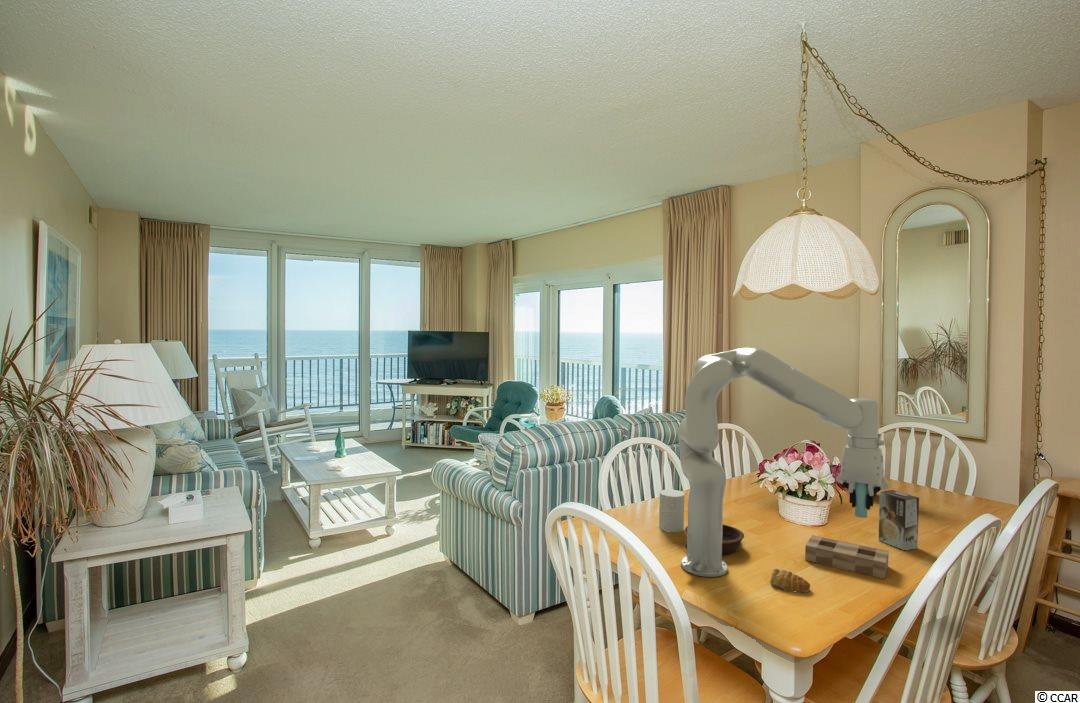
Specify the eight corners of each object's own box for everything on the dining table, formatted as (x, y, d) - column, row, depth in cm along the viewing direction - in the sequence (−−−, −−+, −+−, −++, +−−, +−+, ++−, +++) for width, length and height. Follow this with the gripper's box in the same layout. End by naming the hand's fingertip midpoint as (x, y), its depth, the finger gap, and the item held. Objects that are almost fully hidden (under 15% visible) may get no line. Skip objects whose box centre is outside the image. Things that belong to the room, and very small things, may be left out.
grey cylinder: (654, 525, 191) (654, 491, 191) (672, 522, 195) (673, 488, 194) (669, 533, 184) (670, 497, 183) (688, 529, 188) (689, 494, 187)
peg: (866, 518, 155) (867, 483, 155) (854, 516, 157) (854, 481, 156) (867, 515, 157) (868, 480, 157) (855, 513, 159) (856, 478, 159)
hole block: (884, 579, 152) (885, 562, 152) (805, 560, 164) (805, 545, 164) (888, 566, 160) (888, 551, 160) (811, 549, 172) (812, 535, 172)
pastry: (812, 587, 147) (812, 573, 147) (807, 597, 142) (807, 583, 142) (774, 577, 153) (774, 564, 153) (768, 587, 147) (768, 573, 147)
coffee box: (918, 548, 173) (921, 497, 172) (904, 551, 171) (906, 499, 170) (891, 537, 182) (892, 489, 181) (876, 540, 180) (878, 491, 179)
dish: (760, 549, 172) (761, 533, 172) (712, 565, 160) (712, 548, 160) (715, 531, 187) (715, 516, 187) (667, 544, 175) (668, 529, 175)
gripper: (898, 443, 154) (896, 509, 155) (832, 437, 164) (831, 498, 165) (895, 448, 148) (894, 516, 149) (827, 441, 158) (826, 505, 159)
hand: (861, 506), depth 157 cm, fingers closed on peg, 3 cm apart
